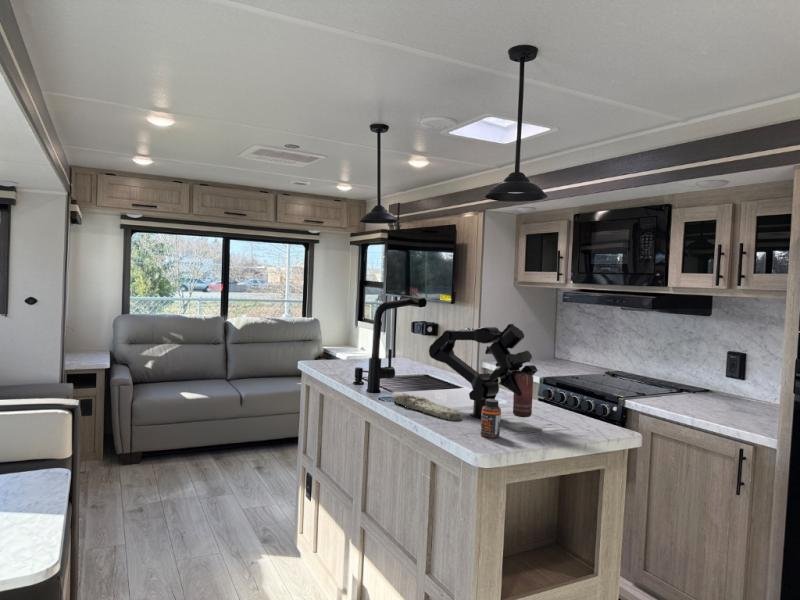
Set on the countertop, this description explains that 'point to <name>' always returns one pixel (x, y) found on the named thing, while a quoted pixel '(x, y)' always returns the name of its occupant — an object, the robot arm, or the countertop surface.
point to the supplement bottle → (490, 419)
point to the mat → (520, 426)
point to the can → (523, 395)
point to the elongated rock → (426, 406)
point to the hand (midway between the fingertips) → (526, 394)
